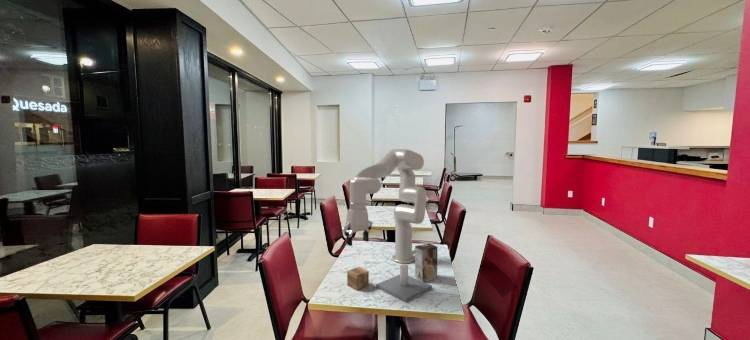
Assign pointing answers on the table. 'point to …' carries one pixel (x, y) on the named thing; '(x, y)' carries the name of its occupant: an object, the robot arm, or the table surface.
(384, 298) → the table surface
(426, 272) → the coffee box
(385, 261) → the table surface
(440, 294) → the table surface
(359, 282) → the brown wooden cube
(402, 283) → the post stand
